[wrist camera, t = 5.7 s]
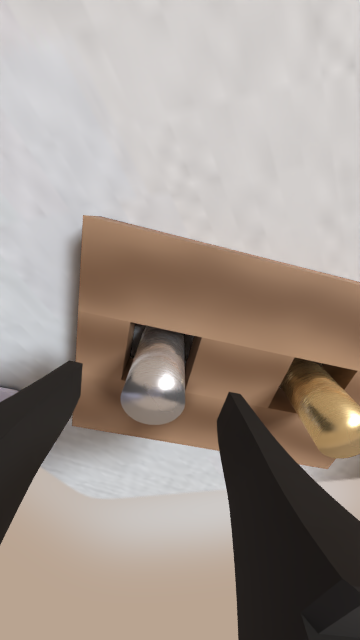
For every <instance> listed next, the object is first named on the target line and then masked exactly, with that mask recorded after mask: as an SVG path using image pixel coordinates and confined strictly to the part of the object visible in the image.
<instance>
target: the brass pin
mask: <svg viewBox="0 0 360 640" xmlns="http://www.w3.org/2000/svg"><path fill="white" fill-rule="evenodd" d="M280 386H281V388H282V390H283V391H284V393H285V395H286V396H287V398H288V400H289V401H290V403H291V405H292V406H293V408H294V410H295V411H296V413H297V414H298V416H299V418H300V419H301V421H302V423H303V424H304V426H305V428H306V429H307V431H308V433H309V434H310V436H311V438H312V439H313V441H314V443H315V444H316V446H317V448H318V449H319V451H320V452H321V453H322V454H324V455H326V456H328V457H331V458H348V457H352V456H356V455H358V454H360V406H359V405H358V404H357V403H356V402H355V401H354V400H353V399H352V398H351V397H350V396H349V395H348V394H347V393H346V392H345V390H344V389H343V388H342V387H341V386H340V385H339V384H338V383H337V382H336V381H335V380H334V379H333V378H332V377H331V376H330V375H329V374H328V373H327V372H326V371H325V370H324V369H323V368H322V367H321V366H320V365H319V364H318V363H317V362H314V361H310V360H305V359H300V358H296V357H295V358H294V360H293V362H292V363H291V365H290V367H289V369H288V371H287V373H286V375H285V377H284V378H283V380H282V382H281V384H280Z"/></svg>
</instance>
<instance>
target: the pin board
mask: <svg viewBox="0 0 360 640" xmlns="http://www.w3.org/2000/svg"><path fill="white" fill-rule="evenodd" d="M135 323H137V324H142V325H147V326H151V327H156V328H161V329H165V330H170V331H175V332H179V333H184V334H188V335H193V336H194V338H193V342H192V345H191V348H190V352H189V355H188V359H187V362H186V365H185V407H184V410H183V411H182V413H181V414H180V415H179V416H178V417H177V418H176V419H175V420H173V421H171V422H169V423H166V424H161V425H148V424H144V423H141V422H138V421H136V420H134V419H133V418H131V417H130V416H129V415H128V414H127V413H126V412H125V411H124V409H123V407H122V405H121V393H122V390H123V387H124V385H125V382H126V379H127V376H128V373H129V370H130V368H131V365H132V362H133V359H132V358H130V352H131V346H132V340H133V335H134V329H135ZM295 357H296V358H300V359H305V360H310V361H314V362H319V363H324V364H323V366H322V368H323V369H324V370H325V371H326V372H327V373H328V374H329V375H330V376H331V377H332V378H333V379H334V380H335V381H336V382H337V383H338V384H339V385H340V386H341V387H342V388H343V389H344V390H345V392H346V393H347V394H348V395H349V396H350V397H351V398H352V399H353V400H354V401H355V402H356V403H357V404H358V405H359V406H360V282H357V281H353V280H349V279H345V278H341V277H337V276H334V275H330V274H326V273H322V272H318V271H314V270H310V269H306V268H302V267H298V266H294V265H290V264H286V263H282V262H278V261H274V260H270V259H266V258H263V257H259V256H255V255H251V254H247V253H243V252H239V251H235V250H231V249H227V248H223V247H219V246H215V245H211V244H207V243H203V242H199V241H195V240H192V239H188V238H184V237H180V236H176V235H172V234H168V233H164V232H160V231H156V230H152V229H148V228H144V227H140V226H136V225H132V224H128V223H124V222H120V221H117V220H113V219H109V218H105V217H100V216H86V215H83V227H82V246H81V266H80V285H79V304H78V323H77V343H76V362H79V363H83V367H82V381H81V396H80V398H79V400H78V403H77V405H76V407H75V409H74V411H73V419H72V426H76V427H82V428H88V429H94V430H100V431H106V432H112V433H118V434H123V435H129V436H135V437H141V438H147V439H153V440H159V441H165V442H171V443H177V444H182V445H188V446H194V447H200V448H206V449H212V450H218V451H219V445H218V436H217V419H218V416H219V414H220V412H221V409H222V407H223V404H224V402H225V400H226V397H227V395H228V393H229V392H233V393H238V394H241V395H242V396H243V398H244V399H245V400H246V401H247V403H248V404H249V405H250V407H251V408H252V409H253V411H254V412H255V413H256V415H257V416H258V417H259V419H260V420H261V421H262V423H263V424H264V425H265V426H266V428H267V429H268V430H269V431H270V433H271V434H272V435H273V436H274V437H275V439H276V440H277V441H278V442H279V443H280V445H281V446H282V447H283V448H284V449H285V450H286V451H287V453H288V454H289V455H290V456H291V457H292V458H293V459H294V460H295V461H296V462H297V463H298V464H301V465H306V466H312V467H318V468H324V469H328V468H329V467H330V465H331V464H332V463H333V462H334V460H335V459H336V458H331V457H328V456H326V455H324V454H322V453H321V452H320V451H319V449H318V448H317V446H316V444H315V443H314V441H313V439H312V438H311V436H310V434H309V433H308V431H307V429H306V428H305V426H304V424H303V423H302V421H301V419H300V418H299V416H298V414H297V413H296V411H295V410H294V408H293V406H292V405H291V403H290V401H289V400H288V398H287V396H286V395H285V393H284V391H283V390H282V389H281V388H279V386H280V384H281V382H282V380H283V378H284V377H285V375H286V373H287V371H288V369H289V367H290V365H291V363H292V362H293V360H294V358H295Z"/></svg>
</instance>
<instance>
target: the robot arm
mask: <svg viewBox="0 0 360 640" xmlns="http://www.w3.org/2000/svg"><path fill="white" fill-rule="evenodd" d="M82 367H83V363H79V362H74V361H68V362H67V363H65V364H63V365H62V366H60V367H59V368H57V369H55V370H54V371H52V372H51V373H49V374H48V375H46V376H44V377H43V378H41V379H39V380H38V381H36V382H34V383H33V384H31V385H30V386H28V387H26V388H24V389H23V390H21V391H17V390H13V389H8V388H2V387H0V544H1V542H2V540H3V538H4V536H5V534H6V532H7V530H8V528H9V526H10V524H11V522H12V520H13V518H14V515H15V513H16V512H17V509H18V507H19V505H20V503H21V502H22V500H23V497H24V496H25V494H26V492H27V490H28V487H29V486H30V484H31V482H32V480H33V478H34V476H35V474H36V473H37V471H38V469H39V468H40V466H41V464H42V463H43V461H44V459H45V458H46V456H47V454H48V453H49V451H50V450H51V448H52V446H53V445H54V443H55V442H56V440H57V438H58V437H59V435H60V434H61V432H62V430H63V429H64V427H65V425H66V424H67V422H68V421H69V419H70V417H71V415H72V413H73V411H74V409H75V407H76V405H77V403H78V400H79V398H80V396H81V381H82ZM217 436H218V445H219V451H220V456H221V462H222V467H223V472H224V478H225V483H226V488H227V493H228V500H229V508H230V517H231V527H232V538H233V550H234V563H235V577H236V595H237V615H238V638H239V640H360V521H359V520H358V519H356V518H355V517H354V516H353V515H352V514H350V513H349V512H348V511H347V510H346V509H345V508H344V507H343V506H341V505H340V504H339V503H338V502H337V501H336V500H335V499H334V498H332V497H331V496H330V495H329V494H328V493H327V492H326V491H325V490H324V489H322V487H321V486H319V485H318V484H317V483H316V482H315V481H314V480H313V479H312V478H311V477H310V476H309V475H308V474H307V473H306V472H305V471H304V470H303V469H302V468H301V467H300V465H299V464H298V463H297V462H296V461H295V460H294V459H293V458H292V457H291V456H290V455H289V454H288V453H287V451H286V450H285V449H284V448H283V447H282V446H281V445H280V443H279V442H278V441H277V440H276V439H275V437H274V436H273V435H272V434H271V433H270V431H269V430H268V429H267V428H266V426H265V425H264V424H263V423H262V421H261V420H260V419H259V417H258V416H257V415H256V413H255V412H254V411H253V409H252V408H251V407H250V405H249V404H248V403H247V401H246V400H245V399H244V398H243V396H242V395H241V394H238V393H233V392H229V393H228V395H227V397H226V400H225V402H224V404H223V407H222V409H221V412H220V414H219V416H218V419H217Z"/></svg>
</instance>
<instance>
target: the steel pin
mask: <svg viewBox="0 0 360 640" xmlns="http://www.w3.org/2000/svg"><path fill="white" fill-rule="evenodd" d="M121 405H122V407H123V409H124V411H125V412H126V413H127V414H128V415H129V416H130V417H131V418H133V419H134V420H136V421H138V422H141V423H144V424H148V425H161V424H166V423H169V422H171V421H173V420H175V419H176V418H177V417H178V416H179V415H180V414H181V413H182V411H183V410H184V407H185V360H184V334H183V333H179V332H175V331H170V330H165V329H161V328H156V327H151V326H146V328H145V329H144V331H143V334H142V337H141V339H140V342H139V345H138V348H137V351H136V354H135V356H134V359H133V362H132V365H131V368H130V370H129V373H128V376H127V379H126V382H125V385H124V387H123V390H122V393H121Z"/></svg>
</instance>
